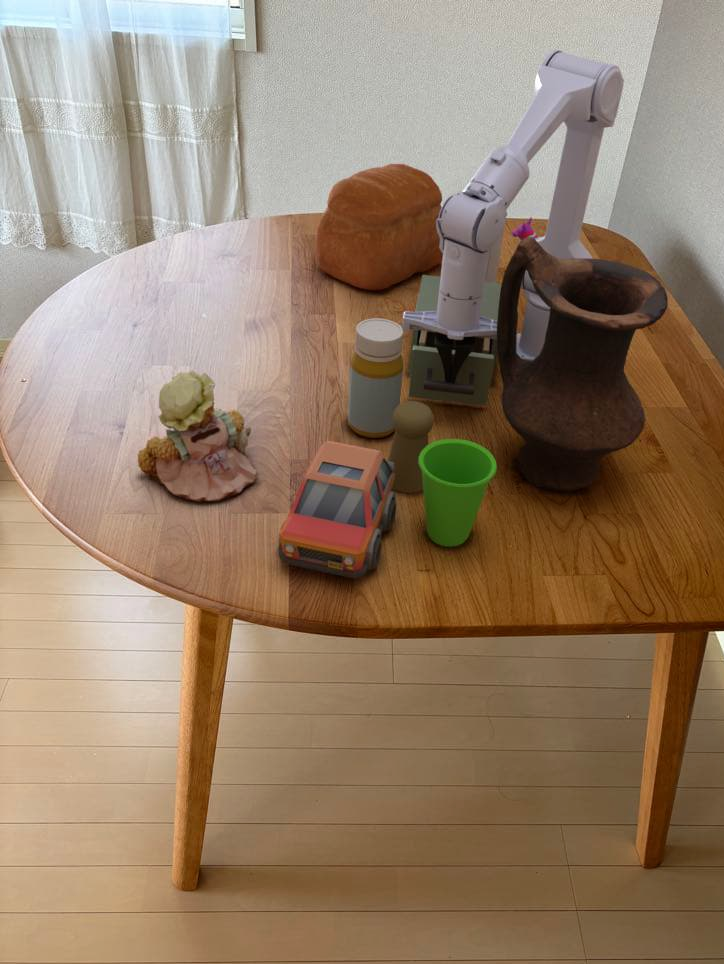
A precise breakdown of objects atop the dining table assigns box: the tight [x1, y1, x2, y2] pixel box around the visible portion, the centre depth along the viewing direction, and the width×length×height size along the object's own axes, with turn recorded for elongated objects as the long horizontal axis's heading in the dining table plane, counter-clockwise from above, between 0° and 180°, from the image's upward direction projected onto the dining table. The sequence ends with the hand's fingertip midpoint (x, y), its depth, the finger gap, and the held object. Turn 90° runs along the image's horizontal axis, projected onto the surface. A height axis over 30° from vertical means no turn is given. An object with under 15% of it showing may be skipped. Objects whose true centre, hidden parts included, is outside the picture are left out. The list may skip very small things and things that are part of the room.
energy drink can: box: [485, 218, 507, 283], centre depth 157 cm, size 6×6×15 cm
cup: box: [418, 438, 498, 548], centre depth 108 cm, size 9×9×11 cm
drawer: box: [408, 331, 494, 407], centre depth 133 cm, size 18×11×8 cm, turn 174°
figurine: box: [137, 370, 258, 503], centre depth 112 cm, size 15×14×15 cm
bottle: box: [347, 317, 404, 439], centre depth 123 cm, size 7×7×15 cm
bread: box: [314, 163, 443, 291], centre depth 160 cm, size 18×22×17 cm
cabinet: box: [408, 274, 502, 386], centre depth 141 cm, size 15×13×10 cm
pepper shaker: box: [387, 400, 435, 494], centre depth 115 cm, size 6×6×11 cm
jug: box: [496, 237, 669, 493], centre depth 114 cm, size 21×18×30 cm
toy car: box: [277, 439, 397, 579], centre depth 106 cm, size 12×17×10 cm
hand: (450, 380), depth 127 cm, fingers closed
